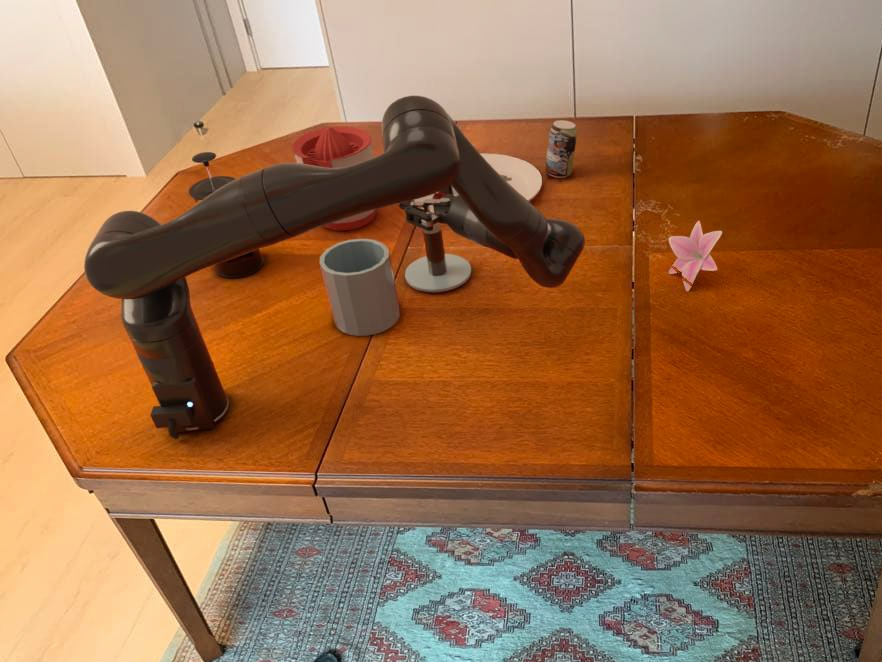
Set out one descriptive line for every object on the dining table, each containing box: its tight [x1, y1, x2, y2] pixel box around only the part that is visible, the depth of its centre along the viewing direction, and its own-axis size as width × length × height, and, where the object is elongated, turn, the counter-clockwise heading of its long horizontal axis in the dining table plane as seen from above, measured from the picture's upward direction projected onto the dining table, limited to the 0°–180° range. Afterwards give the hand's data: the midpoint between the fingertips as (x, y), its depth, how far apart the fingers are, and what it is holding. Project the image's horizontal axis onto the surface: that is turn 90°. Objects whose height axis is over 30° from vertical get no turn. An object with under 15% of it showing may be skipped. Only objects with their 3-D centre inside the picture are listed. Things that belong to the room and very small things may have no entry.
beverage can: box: [544, 119, 578, 179], centre depth 180 cm, size 6×7×12 cm
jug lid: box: [404, 223, 472, 293], centre depth 151 cm, size 13×13×10 cm
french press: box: [188, 151, 265, 280], centre depth 152 cm, size 12×9×23 cm
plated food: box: [414, 152, 543, 214], centre depth 178 cm, size 30×30×3 cm
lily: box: [668, 220, 723, 292], centre depth 149 cm, size 12×12×10 cm
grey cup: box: [319, 238, 401, 337], centre depth 141 cm, size 12×12×12 cm
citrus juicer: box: [291, 125, 377, 231], centre depth 165 cm, size 16×17×20 cm
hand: (418, 191), depth 144 cm, fingers open, 8 cm apart
